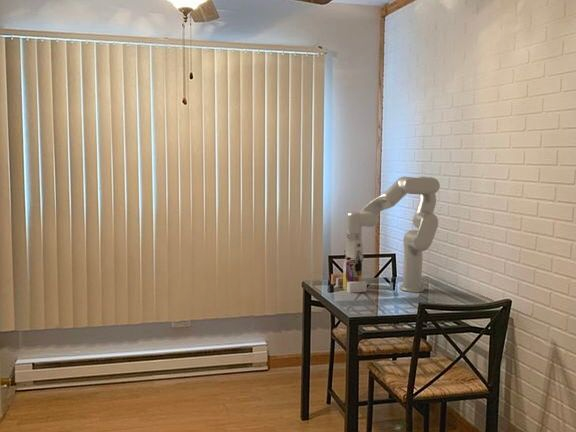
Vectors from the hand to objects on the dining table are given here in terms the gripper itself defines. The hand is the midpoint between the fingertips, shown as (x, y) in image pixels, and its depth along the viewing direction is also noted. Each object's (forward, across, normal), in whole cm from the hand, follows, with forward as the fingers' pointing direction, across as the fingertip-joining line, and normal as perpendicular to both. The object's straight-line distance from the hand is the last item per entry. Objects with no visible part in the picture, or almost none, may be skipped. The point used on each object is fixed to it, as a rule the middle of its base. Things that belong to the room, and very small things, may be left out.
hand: (353, 269), depth 312 cm
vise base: (+12, +5, 0) cm, 12 cm away
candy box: (+11, 0, 0) cm, 11 cm away
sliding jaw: (+10, +10, +1) cm, 14 cm away
